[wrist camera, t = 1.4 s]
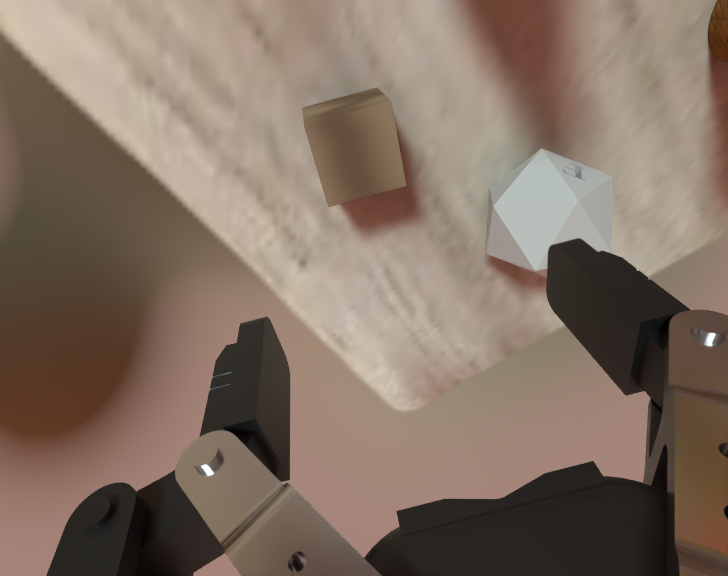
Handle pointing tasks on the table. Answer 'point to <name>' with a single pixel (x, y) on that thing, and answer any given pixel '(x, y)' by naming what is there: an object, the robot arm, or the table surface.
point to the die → (548, 210)
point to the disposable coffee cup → (719, 30)
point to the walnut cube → (355, 146)
